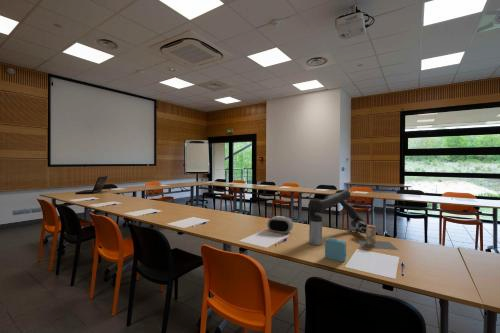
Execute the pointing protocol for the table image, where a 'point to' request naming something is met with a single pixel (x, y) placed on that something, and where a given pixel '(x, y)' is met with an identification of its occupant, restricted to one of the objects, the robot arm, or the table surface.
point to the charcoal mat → (377, 245)
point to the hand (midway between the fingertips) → (367, 232)
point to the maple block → (371, 235)
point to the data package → (335, 249)
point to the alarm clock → (280, 224)
